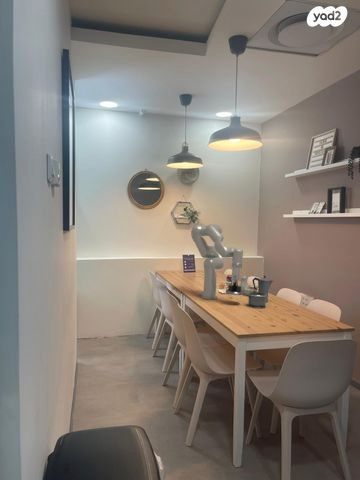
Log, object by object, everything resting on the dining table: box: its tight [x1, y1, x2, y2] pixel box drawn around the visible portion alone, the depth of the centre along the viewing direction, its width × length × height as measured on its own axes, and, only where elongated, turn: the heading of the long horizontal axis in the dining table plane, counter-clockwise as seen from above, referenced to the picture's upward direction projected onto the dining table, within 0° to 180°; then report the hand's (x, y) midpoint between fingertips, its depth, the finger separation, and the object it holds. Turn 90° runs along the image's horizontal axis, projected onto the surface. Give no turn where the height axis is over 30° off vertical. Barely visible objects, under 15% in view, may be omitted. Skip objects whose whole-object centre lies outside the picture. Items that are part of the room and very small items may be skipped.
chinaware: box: [239, 274, 259, 297], centre depth 295 cm, size 28×17×17 cm, turn 161°
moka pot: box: [252, 275, 274, 304], centre depth 266 cm, size 10×15×20 cm, turn 78°
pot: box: [247, 291, 267, 309], centre depth 249 cm, size 13×13×9 cm
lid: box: [225, 284, 244, 296], centre depth 254 cm, size 13×13×5 cm
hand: (234, 290), depth 254 cm, fingers closed on lid, 4 cm apart
